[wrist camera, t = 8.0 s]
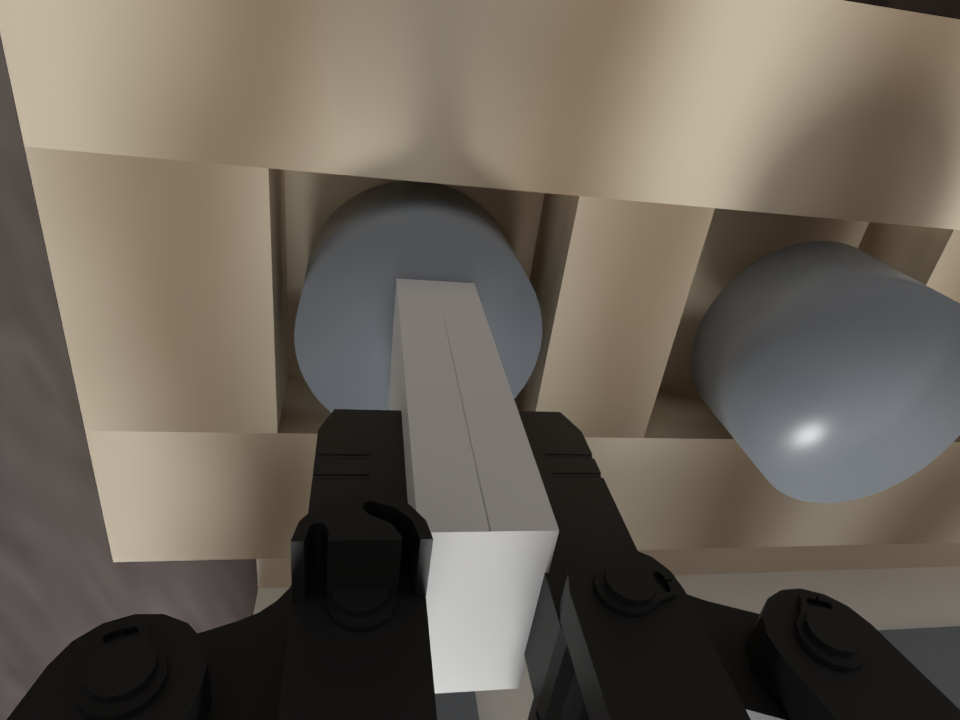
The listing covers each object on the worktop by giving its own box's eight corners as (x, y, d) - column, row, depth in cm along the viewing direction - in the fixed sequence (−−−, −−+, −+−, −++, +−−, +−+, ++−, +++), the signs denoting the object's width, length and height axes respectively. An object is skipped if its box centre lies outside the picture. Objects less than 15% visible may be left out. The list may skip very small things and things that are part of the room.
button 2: (307, 369, 16) (296, 440, 14) (306, 170, 14) (291, 212, 11) (498, 374, 17) (521, 443, 15) (529, 190, 15) (563, 233, 12)
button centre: (667, 422, 16) (722, 504, 14) (728, 232, 14) (811, 288, 11) (838, 425, 17) (921, 502, 15) (925, 249, 15) (1042, 304, 12)
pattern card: (265, 627, 22) (201, 1031, 14) (260, 519, 20) (177, 928, 11) (907, 599, 27) (1155, 881, 19) (965, 511, 25) (1281, 789, 16)
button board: (148, 481, 18) (113, 561, 16) (52, -116, 12) (-38, -145, 9) (1050, 480, 24) (1129, 538, 22) (1332, 90, 18) (1494, 108, 15)
